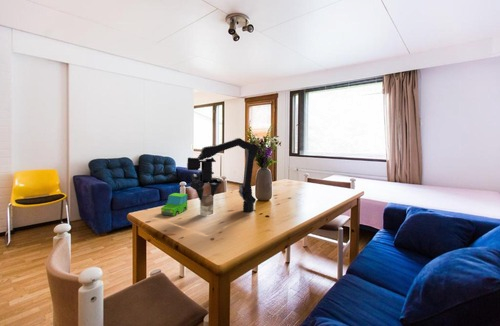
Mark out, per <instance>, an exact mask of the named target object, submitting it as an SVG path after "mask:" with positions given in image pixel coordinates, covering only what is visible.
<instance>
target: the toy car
mask: <svg viewBox="0 0 500 326" xmlns="http://www.w3.org/2000/svg"><path fill="white" fill-rule="evenodd" d="M160 208H161V209H160V211H161V213H160V214H161V215H165V216H166V215H167V216H173V217H174V216H175V217H176V216H178V215H179V214H181V213H183V212H186V211H187V210H188V194H187V193H180V192H173V193H170V194H169V195H168V197H167V202H165V205H163V206H162V207H160Z"/></svg>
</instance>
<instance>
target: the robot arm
mask: <svg viewBox="0 0 500 326" xmlns="http://www.w3.org/2000/svg"><path fill="white" fill-rule="evenodd" d="M235 147H240V148H241V149H243V150H244V154H245V155H244V156H245V165H244V166H245V167H244V171H243V172H244V174H243V179H242V180H243V182H242V184H241V185H239V186H238V188H239V189H238V193H239V196H240V197H241V199H242V200H243V204H242V213H243V212H244V213H252V212H256V211H257V210H255V209H254V207H255V205H254V204H255V203H256V198H255V196H253V188H252V184H251V183H252V176H253V168H254V160H255V158H257V157H256V156H257V154H258V151H259V147H258V146H257V145H256V144H255V143H249V142H247V141H246V140H243V139H242V138H241V137H237V138H235V139H232V140H229V141H226V142H221V143H220V144H216V145H210V146H204V147H202V149H201V150H200V154H199V155H198V156H197V157H187V163H186V170H187V171H199V169H201V171H199V173H198V175H197V173H196V174H195V173H193V174H191V177H190V178H191V182H190V185H189V186H190V188H191V189H194V190H195V192H196V195H197V197H198V200H199V201H200V200H202V196H203V195H204V190H205V188H204V186H206V185H209V186H210V195H212V196H213V197H214V196H215V194H216V192H217V190H218V188H219V186H221V184H222V182H223V181H222V179H221V178H219V177H213V175H214V174H215V173H214V171H213V163H216V162H217V161H216V159H214V157H213V156H215V155H217V154H218V153H220V152H224V151H226V150H227V151H228V150H230V149H232V148H235Z"/></svg>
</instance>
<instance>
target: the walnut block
mask: <svg viewBox="0 0 500 326" xmlns="http://www.w3.org/2000/svg"><path fill="white" fill-rule="evenodd" d="M199 201H200V202H199V206H200V205H202V206H206V207H208V206H211V205H213V206H214V196H212V195H211V194H203V196H202V200H199Z"/></svg>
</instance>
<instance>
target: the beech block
mask: <svg viewBox="0 0 500 326" xmlns="http://www.w3.org/2000/svg"><path fill="white" fill-rule="evenodd" d="M199 209H200V210H199V211H200V212H199V213H200V214H202V215H206V216H208V215H210V216H212V215H211V214H213V213H214V204H213V205H211V206H208V207H206V206H202V205H200V204H199ZM202 215H201V216H202ZM213 215H214V214H213ZM206 216H205V217H206ZM208 217H209V216H208Z"/></svg>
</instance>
